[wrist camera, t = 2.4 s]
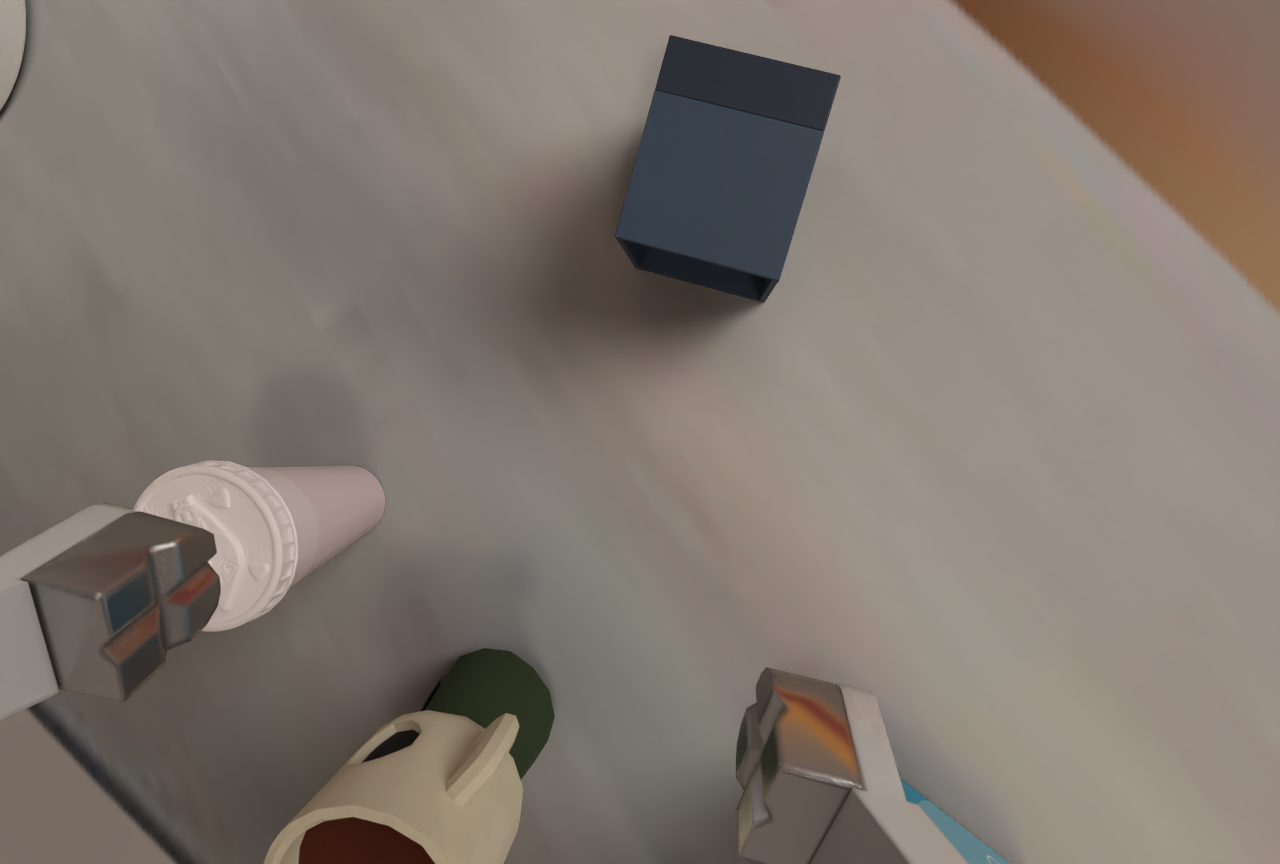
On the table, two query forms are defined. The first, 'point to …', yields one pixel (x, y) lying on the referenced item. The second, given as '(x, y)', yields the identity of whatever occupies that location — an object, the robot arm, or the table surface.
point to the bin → (724, 167)
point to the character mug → (433, 776)
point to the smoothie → (266, 524)
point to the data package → (954, 831)
